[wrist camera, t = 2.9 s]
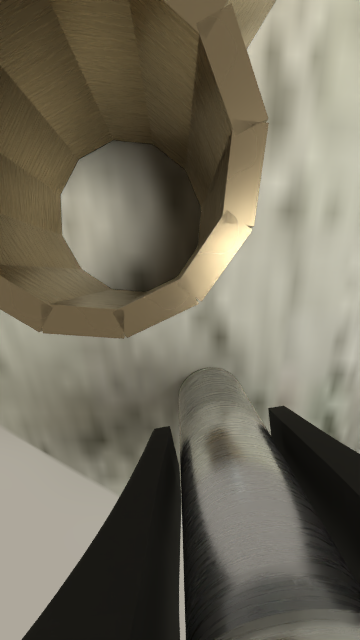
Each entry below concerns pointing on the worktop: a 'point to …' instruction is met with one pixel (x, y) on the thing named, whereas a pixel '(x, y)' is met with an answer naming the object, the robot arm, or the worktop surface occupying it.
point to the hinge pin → (252, 529)
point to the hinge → (123, 125)
